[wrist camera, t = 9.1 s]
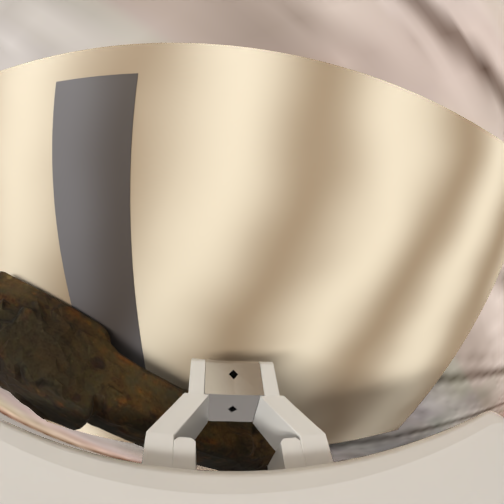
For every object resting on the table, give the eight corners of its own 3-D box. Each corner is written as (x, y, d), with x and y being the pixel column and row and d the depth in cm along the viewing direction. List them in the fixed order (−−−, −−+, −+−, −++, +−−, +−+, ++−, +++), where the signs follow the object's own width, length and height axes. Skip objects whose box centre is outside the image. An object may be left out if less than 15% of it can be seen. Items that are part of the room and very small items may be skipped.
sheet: (520, 158, 10) (532, 163, 9) (393, 420, 19) (397, 429, 18) (-32, 88, 6) (-46, 90, 5) (50, 411, 15) (46, 421, 15)
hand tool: (317, 423, 16) (335, 484, 11) (269, 446, 17) (279, 503, 12) (24, 221, 8) (-52, 283, 4) (0, 282, 9) (-53, 345, 5)
